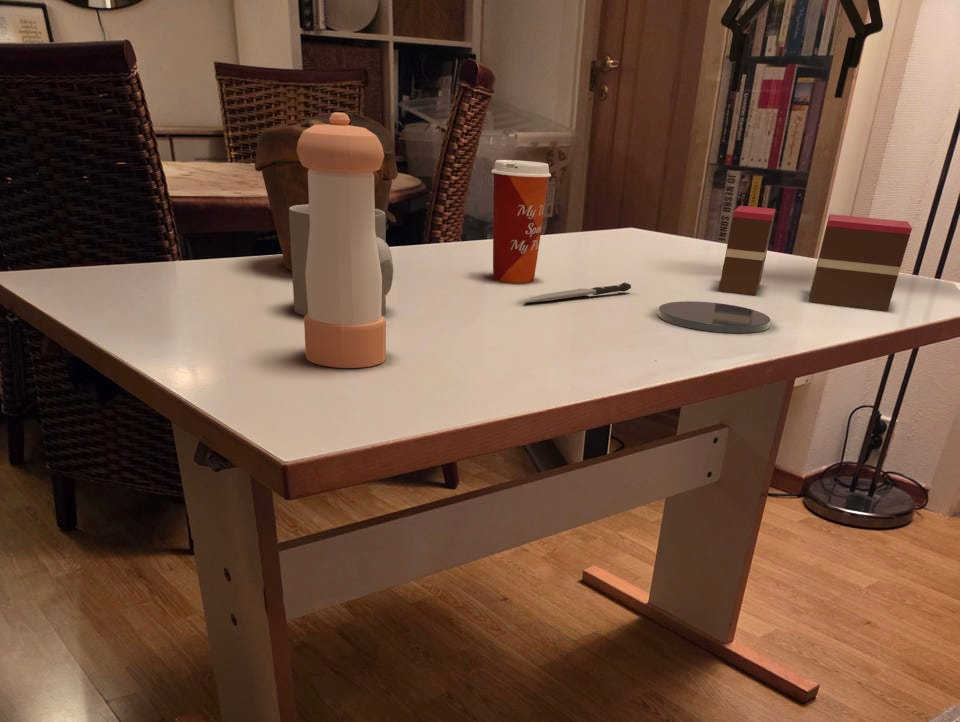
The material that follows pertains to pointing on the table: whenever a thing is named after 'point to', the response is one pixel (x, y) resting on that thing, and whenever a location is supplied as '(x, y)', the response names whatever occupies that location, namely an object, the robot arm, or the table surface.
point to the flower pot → (291, 178)
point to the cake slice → (746, 249)
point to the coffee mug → (300, 247)
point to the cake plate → (714, 317)
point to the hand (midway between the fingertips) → (785, 95)
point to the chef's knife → (580, 292)
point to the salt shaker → (342, 246)
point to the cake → (859, 261)
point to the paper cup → (517, 218)
